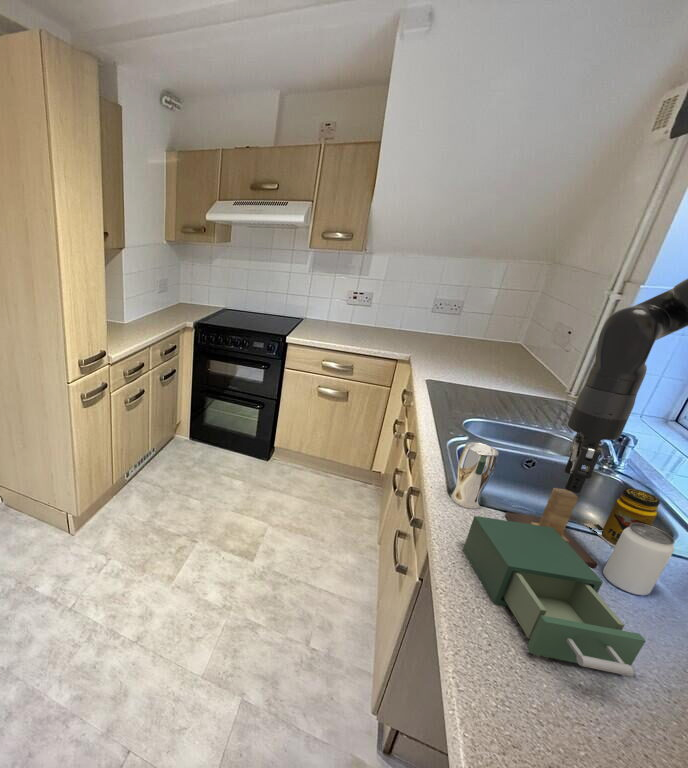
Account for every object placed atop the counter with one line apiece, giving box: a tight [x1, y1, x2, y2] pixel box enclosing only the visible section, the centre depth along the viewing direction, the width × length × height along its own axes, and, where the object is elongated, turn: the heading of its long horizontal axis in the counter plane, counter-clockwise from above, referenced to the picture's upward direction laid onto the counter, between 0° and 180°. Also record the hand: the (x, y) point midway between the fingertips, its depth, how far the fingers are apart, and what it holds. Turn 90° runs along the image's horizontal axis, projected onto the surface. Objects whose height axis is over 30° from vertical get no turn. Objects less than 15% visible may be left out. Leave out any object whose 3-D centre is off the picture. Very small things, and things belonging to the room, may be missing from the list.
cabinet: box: [462, 515, 604, 607], centre depth 78 cm, size 14×14×9 cm
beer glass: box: [450, 441, 500, 510], centre depth 100 cm, size 7×7×15 cm
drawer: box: [503, 571, 646, 677], centre depth 66 cm, size 17×13×7 cm
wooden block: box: [530, 487, 579, 543], centre depth 88 cm, size 5×5×11 cm
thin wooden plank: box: [504, 511, 599, 569], centre depth 90 cm, size 10×14×1 cm
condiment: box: [583, 488, 661, 549], centre depth 89 cm, size 7×8×12 cm
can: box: [602, 523, 675, 596], centre depth 77 cm, size 6×6×12 cm
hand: (571, 481), depth 85 cm, fingers open, 8 cm apart
